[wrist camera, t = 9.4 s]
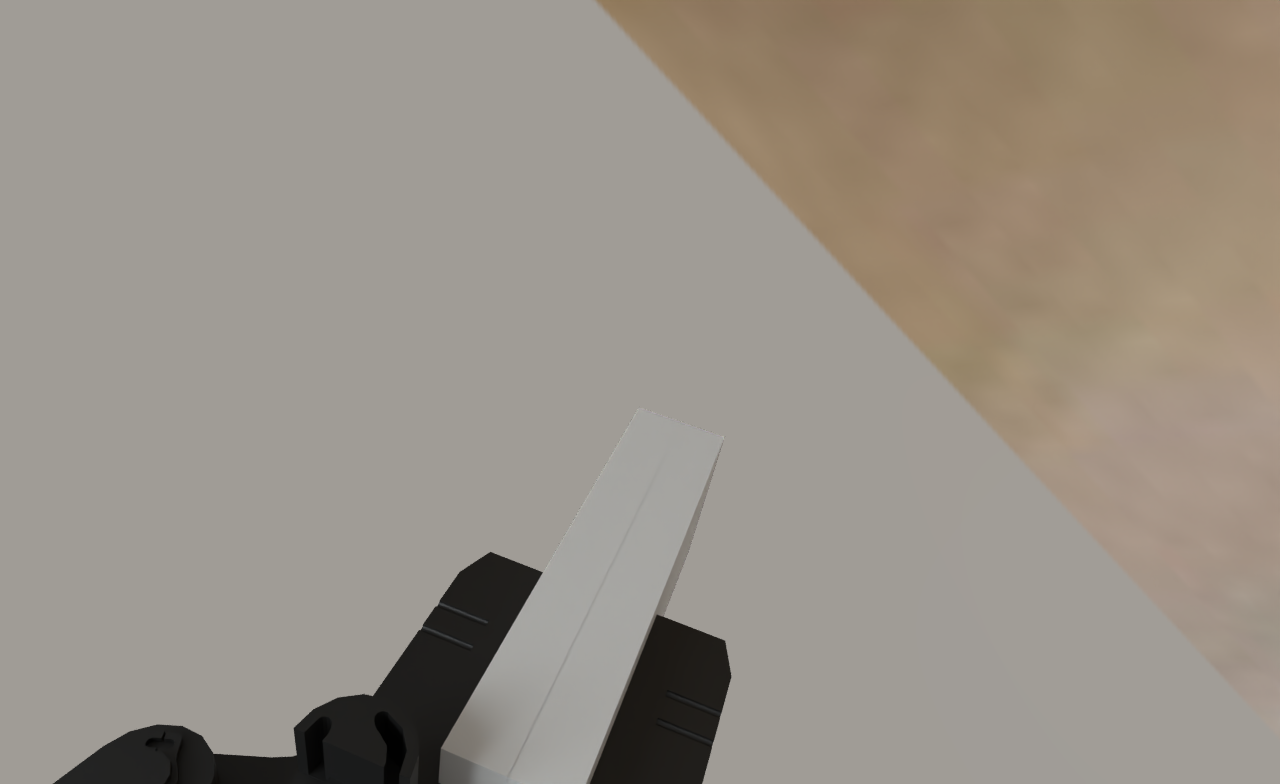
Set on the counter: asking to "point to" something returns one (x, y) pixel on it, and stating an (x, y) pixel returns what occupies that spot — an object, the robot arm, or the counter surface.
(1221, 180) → the counter surface
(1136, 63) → the counter surface
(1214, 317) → the counter surface
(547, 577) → the robot arm
